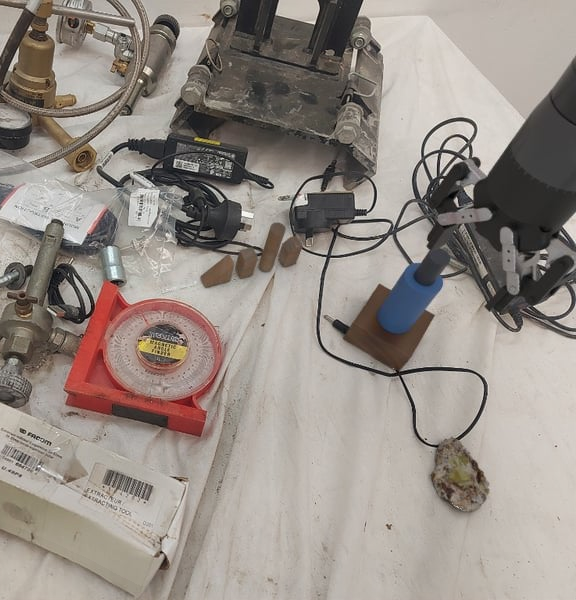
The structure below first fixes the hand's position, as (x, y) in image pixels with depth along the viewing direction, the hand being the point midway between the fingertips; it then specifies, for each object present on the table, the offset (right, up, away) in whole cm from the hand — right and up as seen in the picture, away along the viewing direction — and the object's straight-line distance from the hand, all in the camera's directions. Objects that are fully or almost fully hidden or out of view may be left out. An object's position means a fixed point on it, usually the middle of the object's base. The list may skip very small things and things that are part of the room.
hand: (462, 276), depth 60 cm
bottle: (+5, -6, +32) cm, 33 cm away
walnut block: (+5, -8, +36) cm, 37 cm away
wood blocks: (-20, +2, +41) cm, 46 cm away
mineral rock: (+11, -28, +23) cm, 38 cm away
